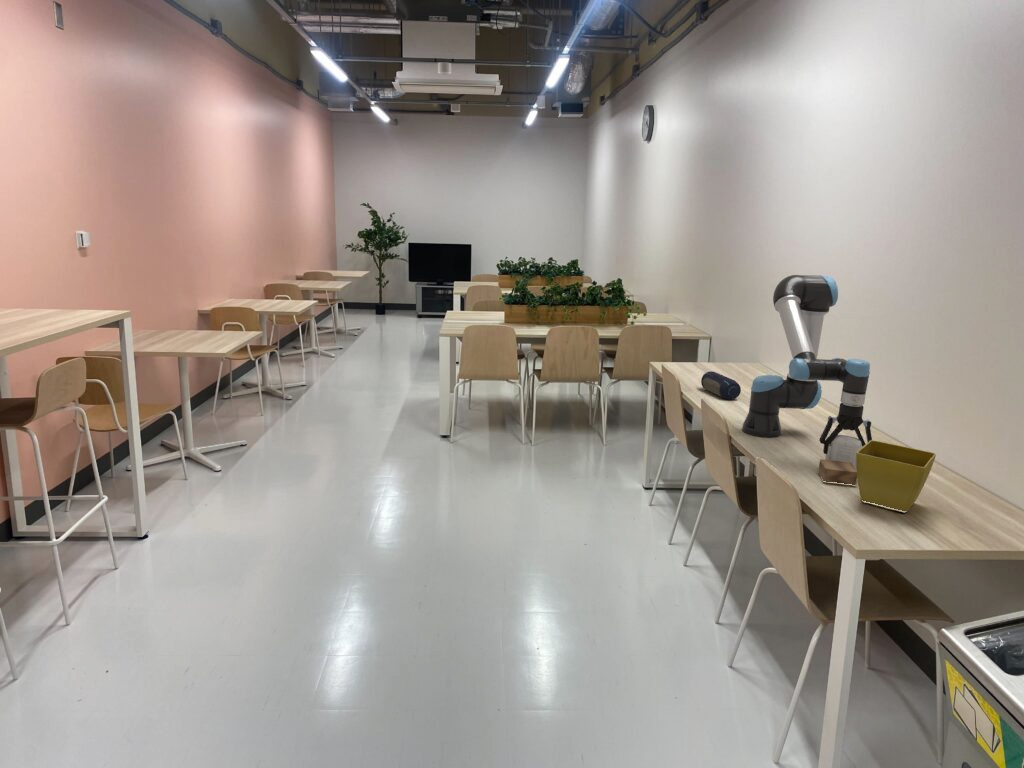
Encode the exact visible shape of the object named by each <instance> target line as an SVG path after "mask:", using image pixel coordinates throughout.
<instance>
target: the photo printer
mask: <svg viewBox="0 0 1024 768" xmlns="http://www.w3.org/2000/svg"><path fill="white" fill-rule="evenodd" d="M830 446H831V450H830V457H829V460H833V461H842V462H851V463H852V464H853V466H854V468H855V469H856V452H857V451H858V450H860V449H861V448H862V444H861V441H860V440H859V439H858V437H854V436H852V435H845V434H838V435H837V436H836V437H835V439H834V440H833V441H832V442H831V443H830ZM856 471H857V469H856Z"/></svg>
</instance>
